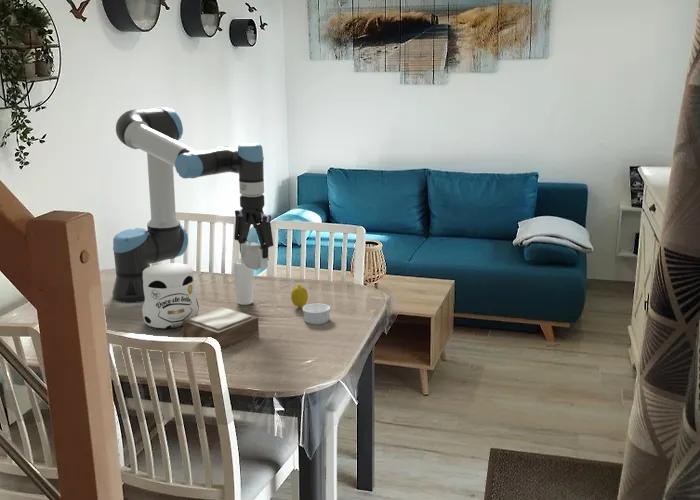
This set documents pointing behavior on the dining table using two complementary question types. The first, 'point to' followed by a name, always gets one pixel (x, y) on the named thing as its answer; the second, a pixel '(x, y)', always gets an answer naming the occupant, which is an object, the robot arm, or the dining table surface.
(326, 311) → the ramekin
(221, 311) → the plinth
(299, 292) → the lemon
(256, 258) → the die
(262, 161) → the robot arm
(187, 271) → the milk container
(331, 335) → the dining table surface
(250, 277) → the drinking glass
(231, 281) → the dining table surface
